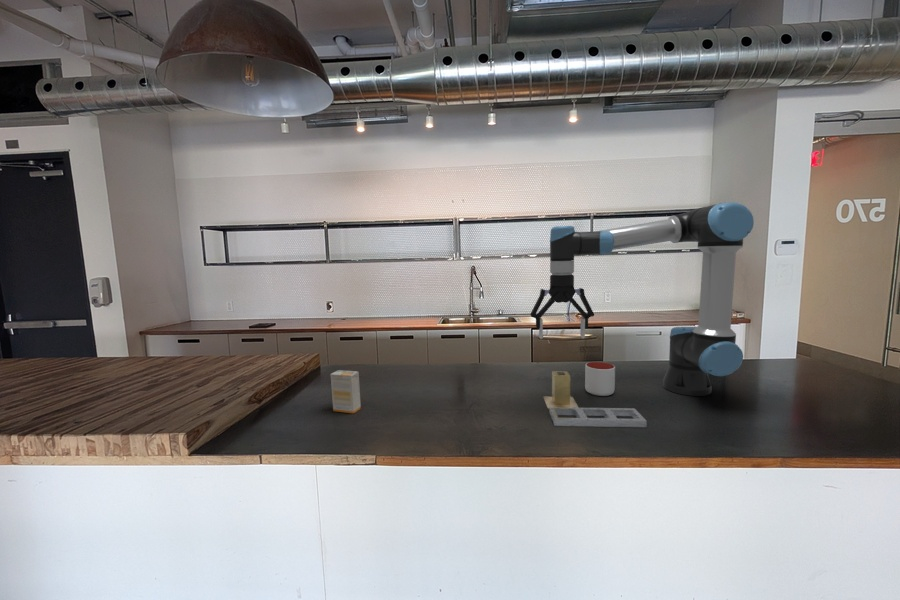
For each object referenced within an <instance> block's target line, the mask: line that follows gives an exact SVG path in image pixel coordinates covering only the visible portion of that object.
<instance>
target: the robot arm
mask: <svg viewBox="0 0 900 600" xmlns="http://www.w3.org/2000/svg"><path fill="white" fill-rule="evenodd" d="M754 223H755V221H754V216H753V214H752V211H751V210H750V209H749V208H747V207H746V206H745V205H744V204H742V203H739V202H734V201H733V202H732V201H731V202H719V203H717V204H712V205H708V206H703V207H699V208H695V209H693V210H690V211H687V212H684V213H680V214H675V215H671V216H669V217H668V218H667V219H663V220H657V221H656V220H655V221H651V222H650V221H649V222H644V223H638V224H631V225H627V226H625V225H624V226H621V227H614V228H607V229H602V230H594V231H576V230H575V227H574V226H573V225H556V226H553V227H552V228H551V229H550V237H549V253H550V254H549V257H550V259H549V260H550V261H549V262H550V263H549V264H550V265H549V273H550V275H549V276H550V277H549V281H550V282H549V289H544V288H540V292H539V295H538V298H537V300H536V302H535V304H534V306H533V308H532V310H531V312H530V314H529V315H530V317H531V318H534V319H535V328H537V329H538V337H539V339H540V340H543V337H544V336H543V334H544V331H543V330H544V329H543V328H544V327H543V324H544V323H543V322H544V320H543V318H542V317H543V316H544V314H545V313H546V312H547V311H548V309H550V307H552V306H553V305H554V304H555V303H559V304H560V303H569V302H570V303H571V304H572V306H573V307H574V308H575V309H576V310H577V312H579V314H580V315H581V316H582V317H580V328H579V329H580V338H581V339H585V337H586V329H588V328H589V319H590V318H592V317H594V316H595V313H594V310H593V309H592V307H591V305H590V303H589V301H588V299H587V297H586V295H585V289H584V288H582V287H580V288H576V289H575V276H574V273H575V256H604V255H610V254H612V252H613V251H614V250H615V251H616V250H621V249H622V250H623V249H627V248H629V249H630V248H634V247H641V246H648V245H654V244H659V243H660V244H661V243H666V242H670V243H672V244H678V243H697V248H698V250H700V251H701V252H702V261H701V262H702V263H701V277H700V278H701V279H700V280H701V281H700V293H699V309H698V311H699V312H698V325H697V326H675V327H672V328H671V329H670V335H669V358H668V359H669V360H668V362H669V363H668V367H667V370H666V372H665V374H664V377H663V379H662V387H663V388H664V389H665V390H667V391H669V392H671V393H672V392H673V393H675V394H679V395H684V396H685V395H686V396H692V397H703V396H704V397H705V396H709V395H710V394H712V384H711V381H710V378H709V375H712V376H716V377H724V376H725V377H726V376H728V375H729V376H730V375H731V374H733V373H734V372H735V371H737V370H738V369H739V368H740V367H741V366H742V363H743V361H744V354H743V350H742V349H741V348H740V346H738V344H736V340H737V333H736V332H735V331H734V330H733V329H732V315H733V314H732V312H733V298H734V287H735V285H734V284H735V272H736V271H735V270H736V260H737V259H736V258H737V257H736V256H737V252H738V251H739V250H740V249H742V248H743V245H744V239H745V238H747V237H748V235H749V234H750V233H751V232H752V230H753V228H754ZM548 294H549V295H550V298H549V299H548V301H546V302H545V304H544V305H543V307H541V308H540V306H541V305H542V302H543V301H544V298H545V297H546V296H547V295H548ZM575 295H577V296H579V298H580V300H581V303H582V305H583V306H584V309H585V310H586V311H585V310H584V309H583V307H581V305H579V304H578V302H577V301H576V300H575V299H574V296H575ZM539 309H540V310H539ZM538 310H539V311H538ZM586 312H587V313H586Z"/></svg>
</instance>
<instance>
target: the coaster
mask: <svg viewBox="0 0 900 600" xmlns="http://www.w3.org/2000/svg"><path fill="white" fill-rule="evenodd" d="M542 397H543V400H544V402H545V406H546V407H547V409H548V410H550V407H565V408H580V407H579V406H578V404H577V402H576V400H575V399H574V397H573V396H570V405H555V404H554V402H553V400H552V396H542Z"/></svg>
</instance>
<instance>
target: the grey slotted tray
mask: <svg viewBox="0 0 900 600" xmlns="http://www.w3.org/2000/svg"><path fill="white" fill-rule="evenodd" d="M549 415H550V418H551V421H552V423H553V425H554V426H555V427H594V428H595V427H599V428H601V427H602V428H603V427H604V428H605V427H606V428H609V427H610V428H647V426H648V425H647V424H648V423H647V421H648V420H646V419H645V417H643V416H642V414H641V413H640V412H639V411H638V410H637V409H636V408H632V407H631V408H628V407H623V408H622V407H621V408H620V407H579V408H565V407H550V409H549ZM559 416H575V417H559ZM589 416H591V417H589ZM594 416H597V417H594ZM599 416H600V417H601V418H600V417H599ZM602 416H603V417H602ZM618 417H632V418H618Z"/></svg>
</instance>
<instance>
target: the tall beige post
mask: <svg viewBox="0 0 900 600" xmlns="http://www.w3.org/2000/svg"><path fill="white" fill-rule="evenodd" d="M551 397H552V400H553V402H554V404H555V405H570V397H571V375H570V373H569V372H568V371H565V370H563V371H562V370H559V371H558V370H553V371H551Z"/></svg>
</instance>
